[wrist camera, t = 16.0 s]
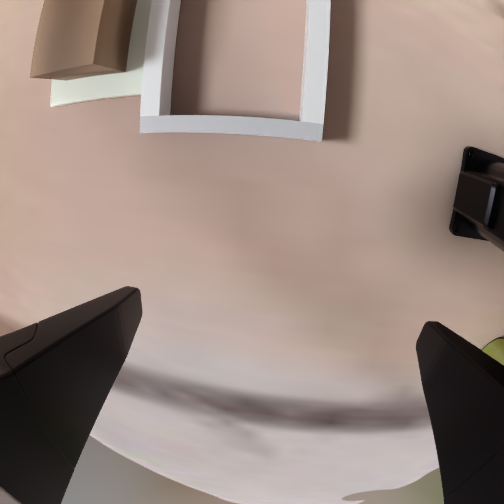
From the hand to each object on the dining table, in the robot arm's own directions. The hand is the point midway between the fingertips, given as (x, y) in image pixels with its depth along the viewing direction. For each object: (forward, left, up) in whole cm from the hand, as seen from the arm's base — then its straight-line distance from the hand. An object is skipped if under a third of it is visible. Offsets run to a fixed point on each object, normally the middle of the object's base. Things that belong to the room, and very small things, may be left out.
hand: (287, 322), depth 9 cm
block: (+13, -12, -11) cm, 21 cm away
